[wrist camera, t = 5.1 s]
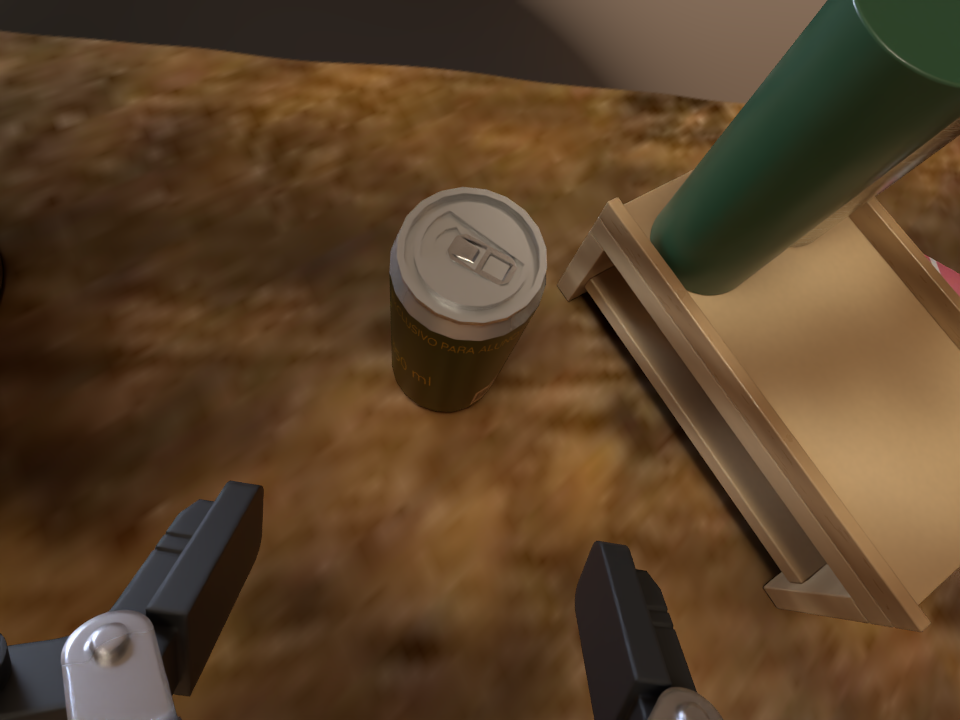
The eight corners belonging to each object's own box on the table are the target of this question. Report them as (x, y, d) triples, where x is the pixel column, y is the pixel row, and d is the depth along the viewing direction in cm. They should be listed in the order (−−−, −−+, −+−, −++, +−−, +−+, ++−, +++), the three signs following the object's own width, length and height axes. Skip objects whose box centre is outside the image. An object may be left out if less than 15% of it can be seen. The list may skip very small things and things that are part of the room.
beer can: (511, 347, 30) (580, 229, 19) (464, 434, 28) (509, 360, 17) (424, 300, 30) (440, 154, 19) (372, 383, 29) (356, 276, 17)
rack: (556, 284, 32) (760, -49, 14) (710, 203, 35) (1035, -151, 17) (777, 609, 28) (1455, 722, 10) (927, 482, 31) (1638, 397, 13)
